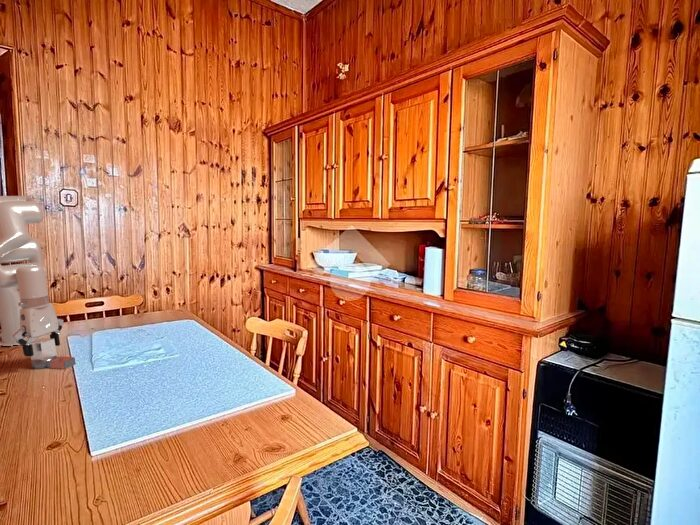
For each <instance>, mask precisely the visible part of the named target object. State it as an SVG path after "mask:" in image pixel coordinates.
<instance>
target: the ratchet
mask: <svg viewBox="0 0 700 525" xmlns="http://www.w3.org/2000/svg"><path fill="white" fill-rule="evenodd" d="M30 362H31V368H32V369H33V370H43V369H53V370H54V369H55V370H56V369H57V370H66V369H68V368H71V367H74V366H76V364H77V363H76V358H75V356H61V355H60V356H58V354H57V355H56V356H54V357H51V358H49V359H46V360H44V361H39V360H31V359H30Z"/></svg>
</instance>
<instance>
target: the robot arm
mask: <svg viewBox="0 0 700 525" xmlns="http://www.w3.org/2000/svg"><path fill="white" fill-rule="evenodd" d="M43 220H44V212H43V208H42V207H41V205H40V203H39V202H38V201H37V200H36V199H34V198H33V197H31V196H29V195H0V327H1V332H0V338H1V341H0V345H3V346H11V347H14V346H13V345H18V346H22V352H23V355H24V357H31V356H33V355H34V353H33V347H32V344H30V343H31V342H33V341H36V340H39V337H42V336H45V335H49V338H50V339H54V340H55V346H56V347H59V346H61V342H60V336H59V335H60V334H61V330H62V328H63V324H64V319H61V318H58V317H57V316H58V315H57V313H56V310H55V307H54V305H53V303H52V302H50V298H49V292H48V285H47V278H46V277H47V269H46V266H45V264H44V263H45V262H44V255H43V250H42V246H41V243H40V242H39V240H38V239H37V238H35V237H31V235H30V232H29V230H28V226H27V225H29V224H32V225H33V224H40V223H41V222H43ZM19 262H25V263H19ZM26 262H27V263H26ZM10 263H17V264H10ZM2 264H7V265H2ZM8 264H9V265H8Z"/></svg>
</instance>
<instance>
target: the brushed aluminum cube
mask: <svg viewBox="0 0 700 525" xmlns="http://www.w3.org/2000/svg"><path fill="white" fill-rule="evenodd" d="M30 344H32V347H33V353H34V355H33V356H30V361H31V360H39V361H44V360H46V359H49V358H51V357H54V356H56V355H57V356H58V354H57V346H55V340H54V339H50V337H48V338H46V337H44V338H43V337H42V338H38V339H37V340H35V341H33V342H31V343H30Z"/></svg>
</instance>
